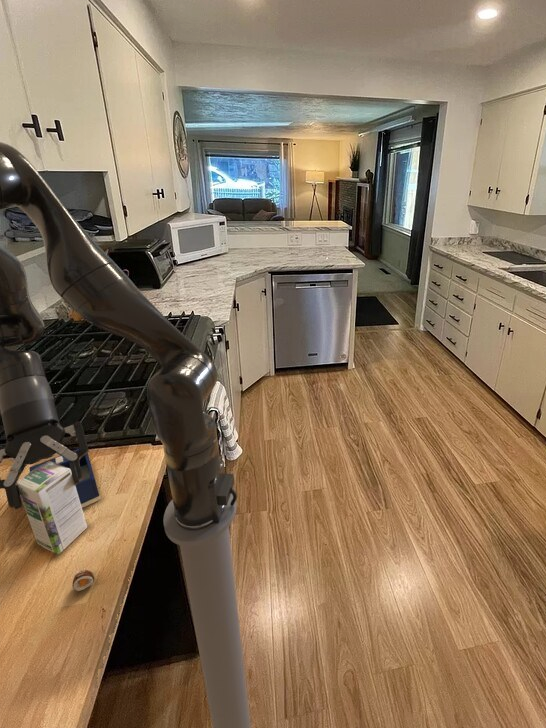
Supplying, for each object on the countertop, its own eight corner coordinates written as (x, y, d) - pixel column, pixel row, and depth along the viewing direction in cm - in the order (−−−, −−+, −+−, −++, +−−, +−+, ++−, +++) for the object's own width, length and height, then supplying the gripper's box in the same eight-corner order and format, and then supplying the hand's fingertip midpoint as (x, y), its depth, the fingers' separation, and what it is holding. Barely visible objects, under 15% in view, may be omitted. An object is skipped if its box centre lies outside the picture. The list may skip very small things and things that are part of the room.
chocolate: (97, 573, 60) (92, 557, 58) (95, 586, 58) (90, 569, 56) (76, 581, 58) (70, 564, 57) (73, 595, 57) (67, 578, 55)
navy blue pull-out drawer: (101, 501, 73) (93, 474, 70) (39, 530, 67) (29, 501, 64) (91, 464, 82) (84, 439, 79) (36, 487, 76) (27, 460, 73)
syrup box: (36, 544, 64) (12, 483, 59) (68, 517, 69) (48, 458, 64) (58, 555, 62) (35, 493, 57) (89, 526, 68) (71, 467, 62)
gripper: (-32, 417, 58) (-13, 519, 54) (73, 386, 67) (97, 472, 62) (-19, 427, 64) (-1, 519, 59) (76, 397, 72) (98, 476, 68)
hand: (49, 495), depth 61 cm, fingers closed on syrup box, 7 cm apart
